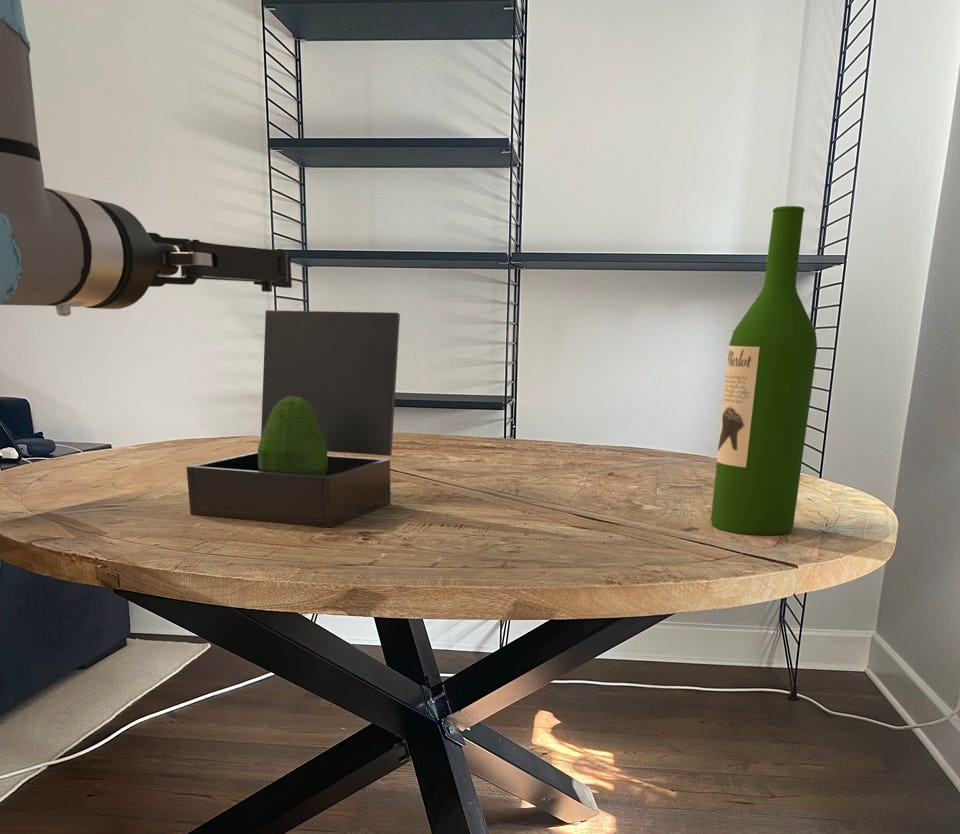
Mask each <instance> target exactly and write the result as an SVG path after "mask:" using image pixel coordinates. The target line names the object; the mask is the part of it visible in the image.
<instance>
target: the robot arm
mask: <svg viewBox="0 0 960 834" xmlns="http://www.w3.org/2000/svg"><path fill="white" fill-rule="evenodd" d="M24 18H25V17H24V11H23V5H22V0H0V306H37V307H38V306H41V307H42V306H44V307H55V311H56V314H57V315H58V316H61V317H68V316H70V315H71V314H72V309H71V307H72V308H73V307H74V308H85V309H101V310H121V309H125V308H128V307H131V306H132V305H134V304H136V303H137V302H139V300H141V299H142V297H144V296H145V294H146V293H147V291H148V289H149V288H159V287H163V286H165V285H178V286H179V285H180V286H191V285H194V284H195V283H196V282H197V280H207V281H208V280H209V281H228V282H229V281H230V282H249V283H251V282H252V283H253V285H258V286H261V292H264V293H265V292H266V293H271V292H273V287H274V288H283V289H285V288H286V289H287V288H288V289H292V288H293V284H292V283H293V281H292V262H291V255H288V251H287V250H285V249H283V248H276V249H270V248H260V247H249V246H241V245H239V246H238V245H229V244H219V243H211V242H205V241H200V239H192V240H191V239H189V238H180V237H167V236H161V235H160V234H159V233H156V232H149V231H147V230H146V228H145V227H144V225H143V224H142V222H141V221H139V219H138V218H137V217H136V216H135V215H134V214H133V213H132V212H130V211H129V210H127V209H126V208H124V207H122V206H120V205H118V204H115V203H111V202H107V201H104V200H99V199H95V198H89V197H87V196H83V195H80V194H75V193H70V192H66V191H62V190H58V189H54V188H49V187H46V186H45V177H44V170H43V164H42V161H41V160H42V159H41V151H40V148H39V139H38V129H37V119H36V118H37V117H36V110H35V109H36V107H35V100H34V99H35V97H34V91H33V80H32V71H31V62H30V53H31V44H30V40H29V39H28V35H27V31H26V24H25V23H26V22H25V19H24ZM178 250H179V251H178ZM179 269H180V276H179V277H178V276H174V275H176V274H177V273H178V272H179Z"/></svg>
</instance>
